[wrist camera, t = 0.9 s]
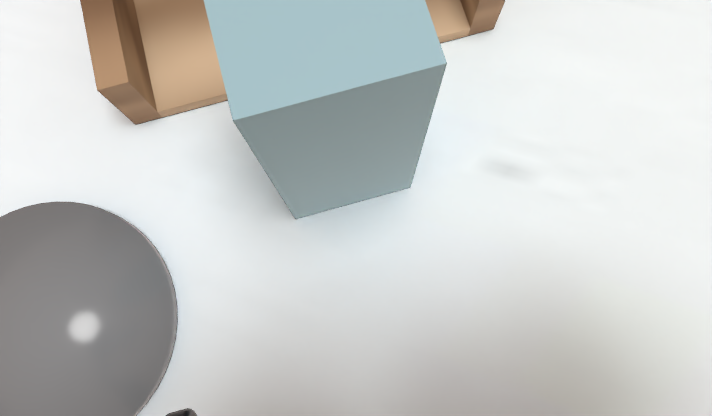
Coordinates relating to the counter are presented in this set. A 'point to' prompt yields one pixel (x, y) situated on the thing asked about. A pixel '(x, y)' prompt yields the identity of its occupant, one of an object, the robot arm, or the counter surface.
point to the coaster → (81, 313)
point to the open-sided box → (199, 50)
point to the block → (330, 92)
